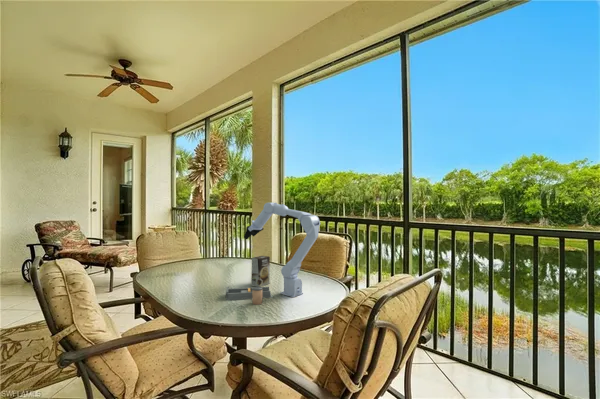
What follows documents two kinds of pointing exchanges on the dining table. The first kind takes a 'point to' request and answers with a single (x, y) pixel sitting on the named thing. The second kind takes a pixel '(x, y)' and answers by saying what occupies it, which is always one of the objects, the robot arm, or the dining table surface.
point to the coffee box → (260, 271)
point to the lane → (245, 293)
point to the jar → (257, 295)
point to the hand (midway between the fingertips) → (248, 236)
